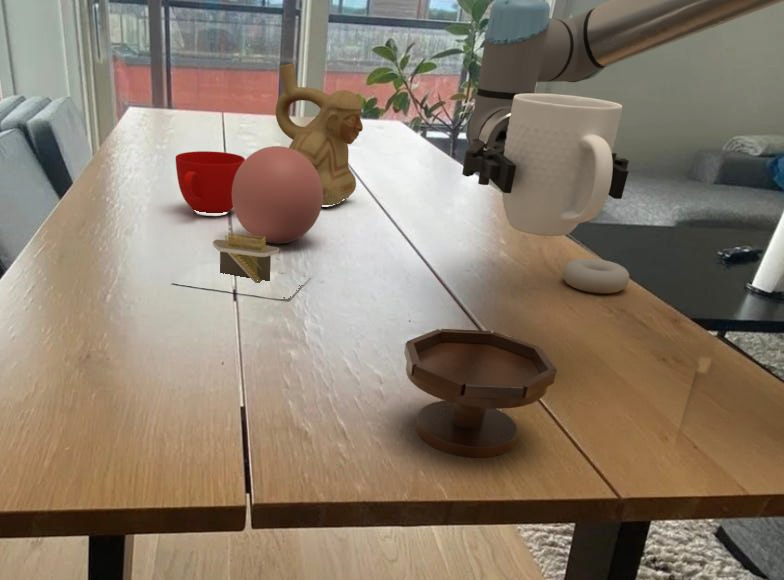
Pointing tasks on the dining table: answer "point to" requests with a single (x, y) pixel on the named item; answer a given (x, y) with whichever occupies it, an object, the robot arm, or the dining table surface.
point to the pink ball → (277, 194)
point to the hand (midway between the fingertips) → (565, 182)
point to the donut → (596, 275)
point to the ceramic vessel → (323, 133)
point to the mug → (559, 161)
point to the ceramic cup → (207, 179)
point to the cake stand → (474, 387)
